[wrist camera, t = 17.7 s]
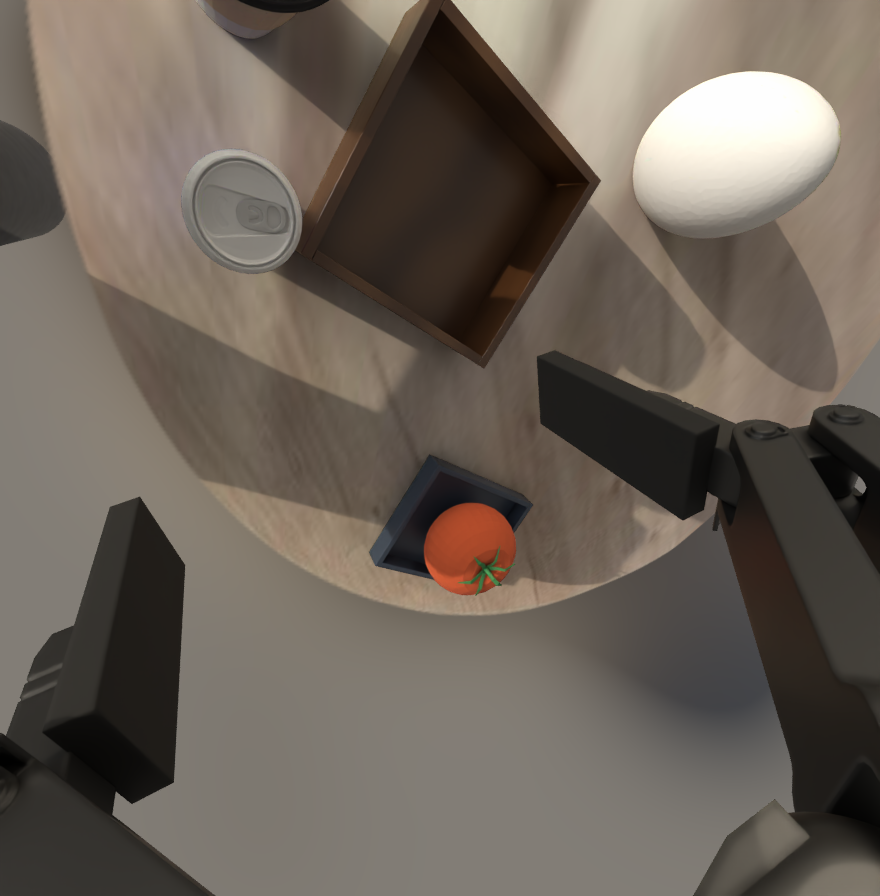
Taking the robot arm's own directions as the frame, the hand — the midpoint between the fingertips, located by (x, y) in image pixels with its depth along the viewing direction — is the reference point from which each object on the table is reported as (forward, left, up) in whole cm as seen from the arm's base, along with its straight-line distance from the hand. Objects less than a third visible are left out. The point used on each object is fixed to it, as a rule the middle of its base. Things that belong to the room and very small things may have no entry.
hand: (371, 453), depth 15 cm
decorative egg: (+26, +30, -27) cm, 48 cm away
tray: (+28, -13, -27) cm, 41 cm away
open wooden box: (+8, +13, -27) cm, 31 cm away
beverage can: (-5, +4, -27) cm, 28 cm away
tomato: (+28, -13, -26) cm, 41 cm away
